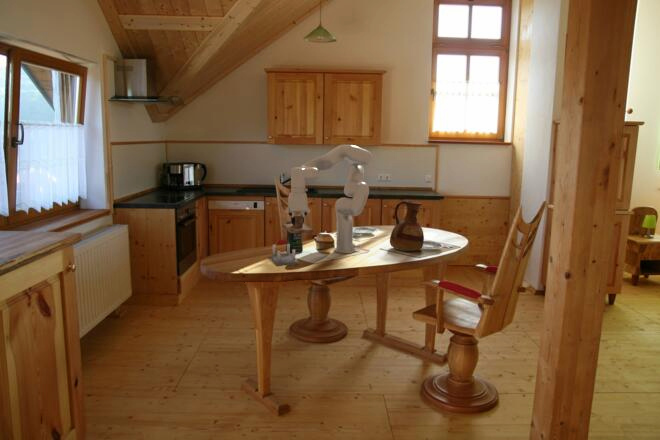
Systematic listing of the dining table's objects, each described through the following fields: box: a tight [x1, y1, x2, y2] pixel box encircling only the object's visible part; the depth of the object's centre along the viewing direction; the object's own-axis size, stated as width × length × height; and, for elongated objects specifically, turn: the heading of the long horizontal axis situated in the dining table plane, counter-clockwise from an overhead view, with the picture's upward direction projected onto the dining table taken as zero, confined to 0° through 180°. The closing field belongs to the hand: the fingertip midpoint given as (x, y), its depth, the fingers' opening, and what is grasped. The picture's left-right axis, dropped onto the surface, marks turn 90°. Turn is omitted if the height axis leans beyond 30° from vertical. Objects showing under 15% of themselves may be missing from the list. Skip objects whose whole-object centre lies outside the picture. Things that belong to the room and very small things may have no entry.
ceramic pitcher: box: [389, 199, 425, 252], centre depth 309 cm, size 20×20×30 cm
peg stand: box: [269, 244, 300, 267], centre depth 283 cm, size 12×20×8 cm, turn 17°
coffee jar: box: [285, 220, 304, 254], centre depth 302 cm, size 10×8×19 cm
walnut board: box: [282, 214, 314, 234], centre depth 282 cm, size 12×20×8 cm, turn 18°
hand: (297, 224), depth 282 cm, fingers closed on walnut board, 4 cm apart
